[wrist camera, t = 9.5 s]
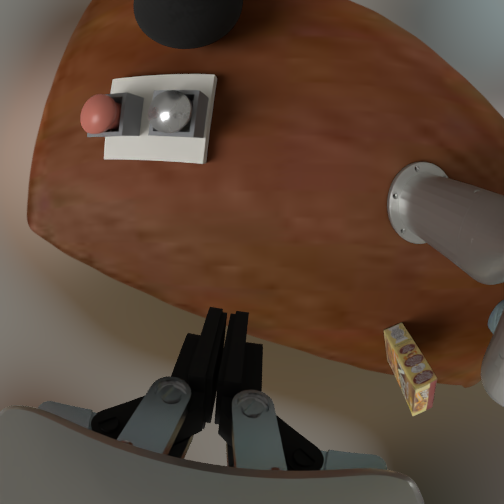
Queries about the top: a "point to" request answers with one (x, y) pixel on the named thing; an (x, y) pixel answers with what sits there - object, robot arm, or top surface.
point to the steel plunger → (170, 112)
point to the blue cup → (495, 316)
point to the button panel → (141, 131)
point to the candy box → (410, 369)
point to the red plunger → (100, 114)
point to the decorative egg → (186, 20)
